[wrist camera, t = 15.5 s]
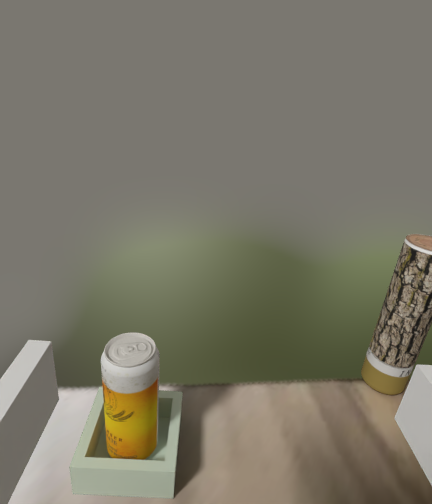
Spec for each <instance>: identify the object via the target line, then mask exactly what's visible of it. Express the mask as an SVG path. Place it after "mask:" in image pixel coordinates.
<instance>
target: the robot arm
mask: <svg viewBox="0 0 432 504" xmlns="http://www.w3.org/2000/svg"><path fill="white" fill-rule="evenodd" d="M58 400H59V396H58V389H57V382H56V374H55V366H54V359H53V351H52V343H51V341H37V340H36V341H35V340H29V341H28V342H27V343H26V345H25V346H24V347H23V349H22V350H21V352H20V353H19V354H18V356H17V357H16V358H15V360H14V361H13V363H12V364H11V365H10V367H9V368H8V369H7V371H6V372H5V374H4V375H3V376H2V378H1V379H0V504H8V502H9V500H10V498H11V496H12V493H13V491H14V489H15V487H16V485H17V483H18V481H19V479H20V477H21V475H22V473H23V471H24V469H25V467H26V465H27V463H28V461H29V459H30V457H31V455H32V453H33V451H34V449H35V447H36V445H37V443H38V441H39V439H40V437H41V435H42V433H43V431H44V429H45V427H46V424H47V422H48V420H49V418H50V416H51V414H52V412H53V410H54V408H55V406H56V404H57V402H58ZM395 420H396V422H397V424H398V426H399V427H400V429H401V431H402V433H403V435H404V437H405V438H406V440H407V442H408V444H409V446H410V447H411V449H412V451H413V453H414V455H415V457H416V458H417V460H418V462H419V464H420V466H421V467H422V469H423V471H424V473H425V475H426V477H427V478H428V480H429V482H430V484H431V486H432V365H416V367H415V370H414V372H413V375H412V377H411V379H410V382H409V384H408V387H407V389H406V391H405V394H404V396H403V399H402V401H401V404H400V406H399V408H398V411H397V413H396V416H395Z"/></svg>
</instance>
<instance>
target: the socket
mask: <svg viewBox="0 0 432 504" xmlns="http://www.w3.org/2000/svg"><path fill="white" fill-rule="evenodd" d="M182 395H183V392H178V391H160V390H159V404H158V442H157V446H156V448H155V450H154V451H153V453H152V454H151V455H150V456H149V457H148V458H146V459H145V460H136V459H116V458H112V457H111V456H110V455H109V453H108V451H107V444H106V429H105V414H104V400H103V387H99V390H98V393H97V395H96V398H95V401H94V403H93V406H92V409H91V411H90V414H89V416H88V419H87V422H86V424H85V427H84V430H83V432H82V435H81V438H80V440H79V443H78V446H77V448H76V451H75V454H74V456H73V459H72V462H71V464H70V467H69V468H70V476H71V484H72V492H73V494H83V495H105V496H127V497H150V498H172V499H173V496H174V486H175V475H176V465H177V454H178V444H179V433H180V423H181V411H182Z"/></svg>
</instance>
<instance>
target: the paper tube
mask: <svg viewBox="0 0 432 504" xmlns="http://www.w3.org/2000/svg"><path fill="white" fill-rule="evenodd" d="M431 323H432V236H429V235H422V234H410V235H407V236H406V239H405V241H404V243H403V246H402V249H401V253H400V255H399V258H398V261H397V264H396V267H395V270H394V273H393V276H392V279H391V283H390V286H389V289H388V291H387V295H386V298H385V301H384V303H383V307H382V310H381V313H380V316H379V318H378V321H377V324H376V327H375V330H374V333H373V336H372V339H371V342H370V345H369V348H368V351H367V355H366V358H365V361H364V364H363V367H362V371H361V373H362V377H363V379H364V381H365V382H366V383H367V384H368V385H369V386H370V387H371V388H373V389H374V390H376V391H378V392H380V393H383V394H387V395H396V394H399V393H401V392H402V391H403V390H404V389H405V386H406V384H407V381H408V379H409V376H410V374H411V372H412V369H413V367H414V365H415V362H416V360H417V357H418V355H419V353H420V350H421V348H422V345H423V343H424V340H425V338H426V336H427V333H428V331H429V328H430V326H431Z"/></svg>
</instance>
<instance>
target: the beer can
mask: <svg viewBox="0 0 432 504" xmlns="http://www.w3.org/2000/svg"><path fill="white" fill-rule="evenodd" d="M101 370H102V385H103V400H104V414H105V429H106V444H107V451H108V453H109V455H110V456H111V457H112V458H116V459H136V460H145V459H146V458H148V457H149V456H150V455H151V454H152V453H153V451H154V450H155V448H156V446H157V442H158V404H159V351H158V349H157V348H156V345H155V342H154V341H153V339H152V338H150V337H149V336H147V335H145V334H141V333H124V334H121V335H118V336H116V337H114V338H112V339H111V340H110V341H109V342H108V343H107V345H106V346H105V349H104V352H103V354H102V357H101Z"/></svg>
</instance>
